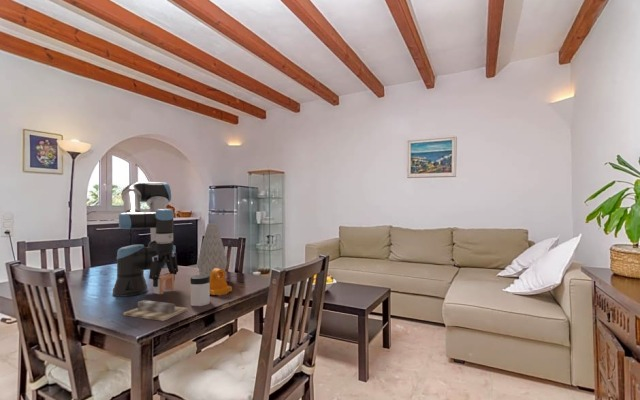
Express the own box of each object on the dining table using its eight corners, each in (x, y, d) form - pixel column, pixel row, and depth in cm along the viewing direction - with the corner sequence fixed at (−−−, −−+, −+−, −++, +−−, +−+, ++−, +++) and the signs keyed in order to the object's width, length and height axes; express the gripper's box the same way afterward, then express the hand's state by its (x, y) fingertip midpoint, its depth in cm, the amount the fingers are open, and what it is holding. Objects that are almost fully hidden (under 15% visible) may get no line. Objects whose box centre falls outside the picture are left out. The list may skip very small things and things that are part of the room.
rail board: (123, 315, 132) (123, 305, 132) (149, 305, 144) (149, 296, 144) (163, 320, 126) (163, 310, 126) (187, 310, 138) (187, 300, 138)
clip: (154, 293, 151) (154, 277, 151) (167, 288, 159) (167, 273, 159) (161, 294, 150) (161, 277, 150) (173, 289, 158) (174, 273, 157)
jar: (204, 299, 154) (204, 273, 154) (214, 302, 148) (214, 276, 148) (186, 304, 147) (186, 276, 147) (195, 307, 141) (195, 279, 142)
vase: (222, 285, 179) (222, 224, 180) (192, 285, 180) (192, 224, 180) (231, 278, 196) (231, 222, 196) (203, 278, 196) (203, 222, 197)
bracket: (213, 296, 158) (213, 271, 158) (205, 294, 163) (205, 269, 163) (232, 292, 166) (232, 268, 166) (225, 289, 171) (225, 266, 171)
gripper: (153, 246, 143) (152, 298, 143) (186, 239, 163) (186, 285, 163) (139, 244, 145) (139, 296, 146) (174, 238, 165) (174, 284, 166)
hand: (164, 290), depth 154 cm, fingers closed on clip, 8 cm apart
